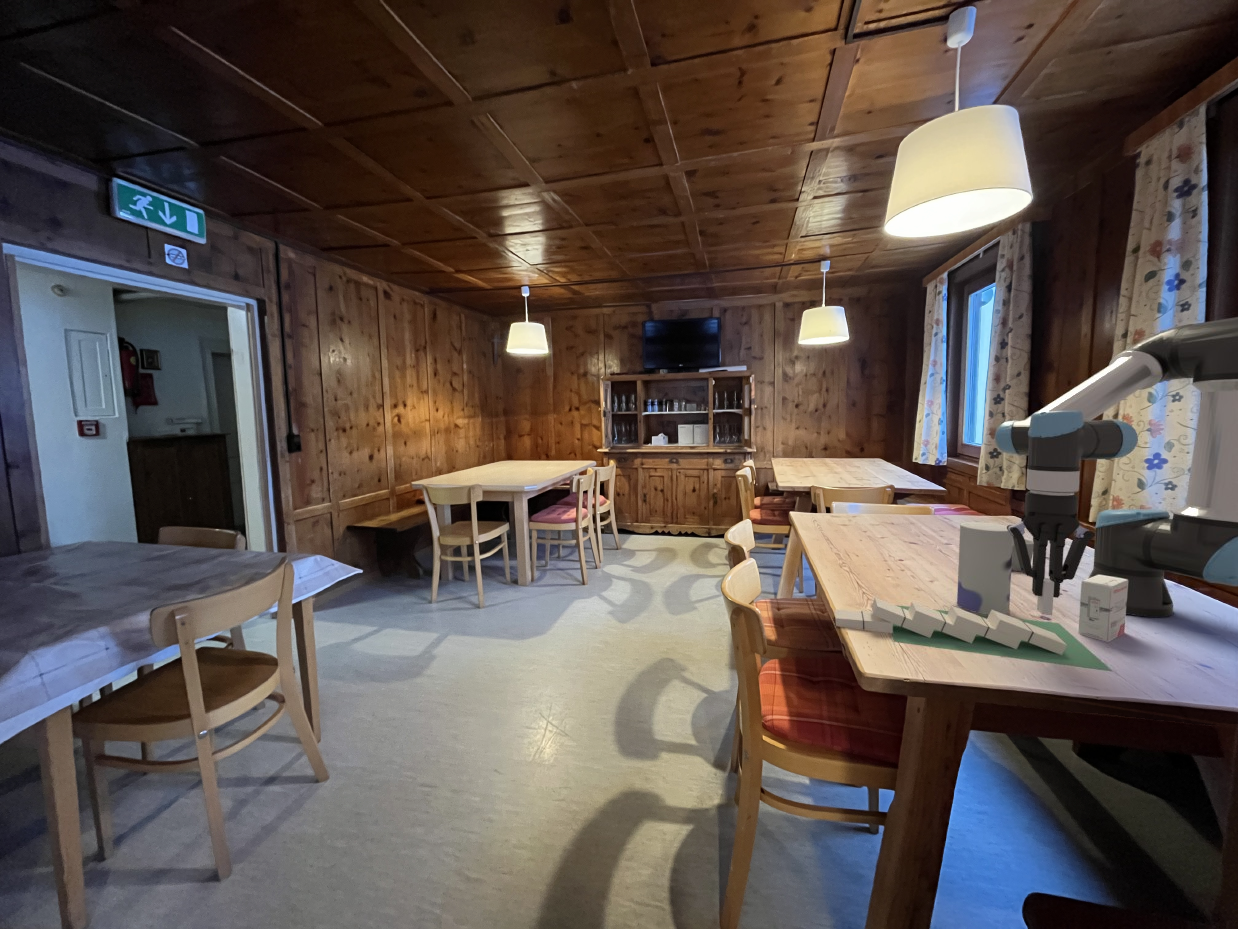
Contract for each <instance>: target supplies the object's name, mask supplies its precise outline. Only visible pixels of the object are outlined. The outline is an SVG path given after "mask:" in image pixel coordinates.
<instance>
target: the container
mask: <svg viewBox="0 0 1238 929" xmlns="http://www.w3.org/2000/svg"><path fill="white" fill-rule="evenodd" d="M1007 526H1008V525H1004V524H1000V523H995V522H994V523H993V522H983V521H967V522H962V523H959V542H958V543H959V545H958V572H957V574H958V575H957V592H956V593H957V595H956V596H957V597H956V604H957V606H960V607H961V608H963V609H964V610H967V611H971V612H974V613H977V614H982V615H989V614H990V612H991V610H994V611H997V612H1000V613H1002V614H1005V615H1008V613H1010V602H1011V585H1012V584H1011V581H1012V570H1011V565H1012V545H1013V536H1012V535H1011V534H1010V532H1009V531H1008V530H1007Z"/></svg>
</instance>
